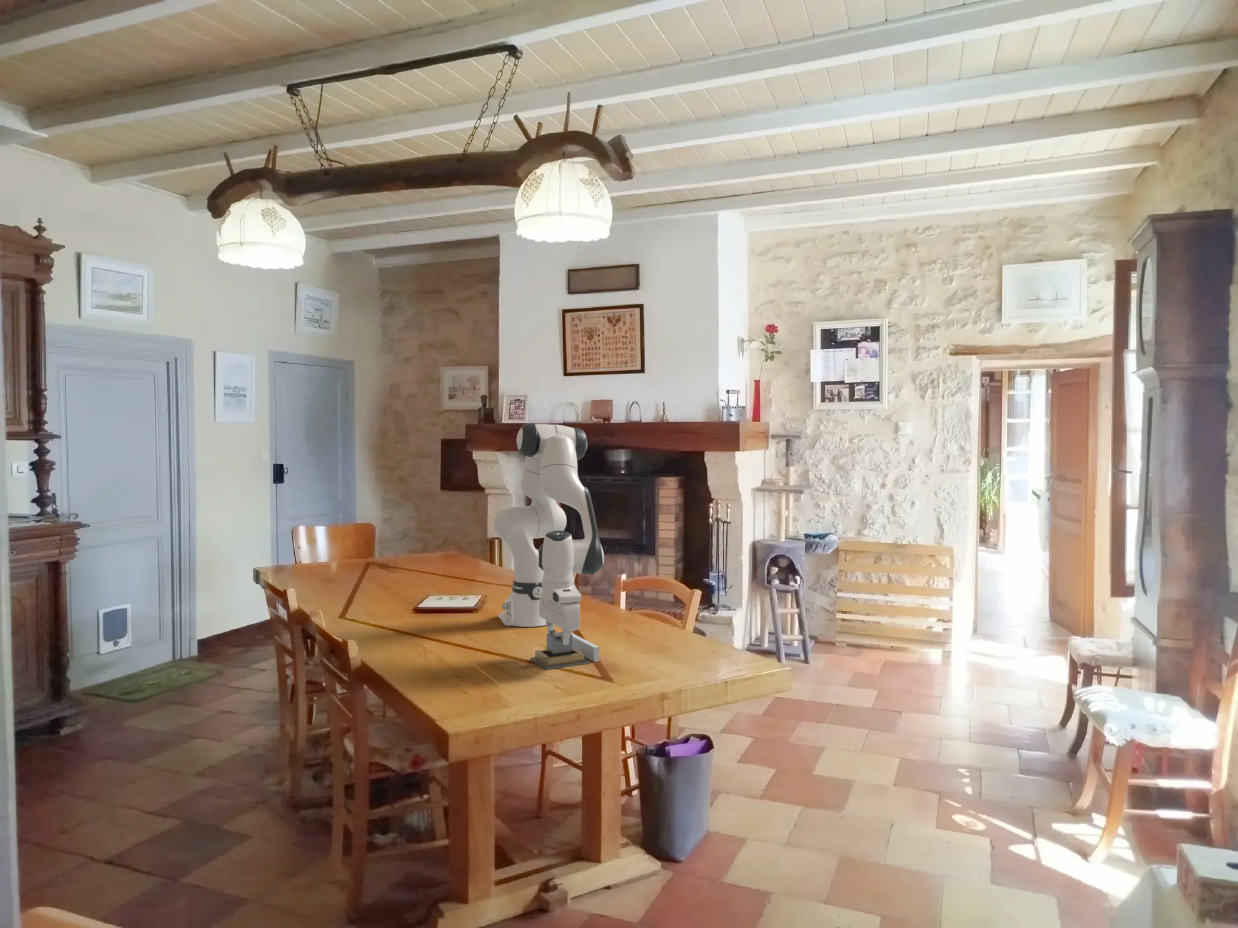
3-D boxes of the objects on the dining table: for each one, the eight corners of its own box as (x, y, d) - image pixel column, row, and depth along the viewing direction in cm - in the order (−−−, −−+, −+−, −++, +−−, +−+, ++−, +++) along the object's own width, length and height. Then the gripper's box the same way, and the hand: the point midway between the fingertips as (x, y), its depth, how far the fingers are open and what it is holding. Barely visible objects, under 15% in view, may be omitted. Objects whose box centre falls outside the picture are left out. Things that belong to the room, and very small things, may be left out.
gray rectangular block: (546, 658, 232) (546, 633, 231) (566, 656, 234) (566, 631, 234) (552, 662, 228) (552, 637, 228) (572, 659, 231) (572, 634, 231)
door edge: (567, 646, 246) (567, 633, 246) (571, 646, 247) (571, 632, 247) (594, 661, 231) (594, 647, 230) (599, 661, 231) (599, 646, 231)
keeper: (530, 659, 233) (530, 650, 233) (572, 653, 239) (572, 644, 239) (545, 669, 223) (545, 660, 223) (589, 663, 229) (589, 653, 229)
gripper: (533, 584, 238) (533, 632, 239) (562, 598, 220) (562, 650, 221) (553, 583, 241) (553, 630, 242) (584, 596, 223) (584, 647, 224)
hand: (558, 640), depth 231 cm, fingers open, 8 cm apart
